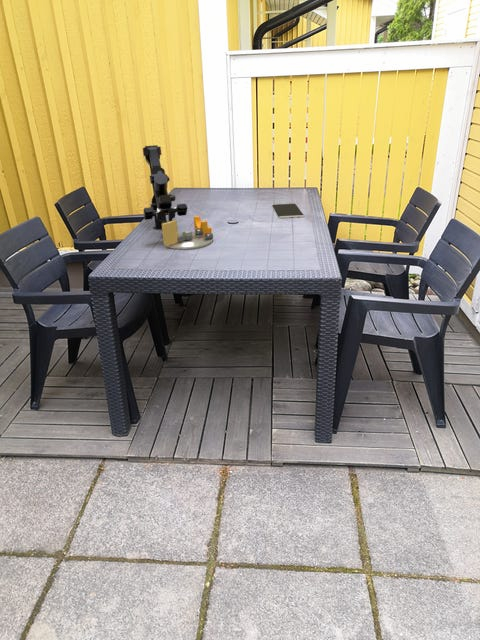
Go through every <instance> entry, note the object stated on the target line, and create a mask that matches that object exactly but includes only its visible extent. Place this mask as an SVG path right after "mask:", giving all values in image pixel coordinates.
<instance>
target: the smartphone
mask: <svg viewBox="0 0 480 640" xmlns="http://www.w3.org/2000/svg"><path fill="white" fill-rule="evenodd" d="M271 207H272V209H273V210H274V212H276V213H275V214H276V216H277V218H278V219H279V220H280V219H281V220H282V219H284V220H285V219H298V218H300V219H302V218H305V215H304V214H303V212H302V210H301V209H300V207H298V205H297V204H296V203H277V204H274V203H273V204H272V206H271Z"/></svg>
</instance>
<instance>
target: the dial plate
mask: <svg viewBox="0 0 480 640" xmlns="http://www.w3.org/2000/svg"><path fill="white" fill-rule="evenodd" d="M191 232H192V235H193V239H191V240H184V241H181V242H177V243H174V244H171V245H168V246H164V247H165V248H167V249H170V250H177V251H189V250H197V249H202V248H205V247H207V246H209V245H211V244H213V241H214V235H213V233H212V232H211V233H206V234H205V233H203V229H201V228H198V229H195V228H194V232H193V231H191ZM182 233H183V232H181V233H178V236H181V235H183V234H182ZM162 242H163V245H164V241H162Z"/></svg>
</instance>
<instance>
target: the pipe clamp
mask: <svg viewBox="0 0 480 640" xmlns="http://www.w3.org/2000/svg"><path fill="white" fill-rule="evenodd" d="M193 224H194V226H193V227H194V230H195V229H198V228H201V229H203V233H205V234H206V233H212V227H211V226H209V225H208V221H207V220H202V221H201V216H199V215H195V216H193Z"/></svg>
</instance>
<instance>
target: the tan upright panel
mask: <svg viewBox="0 0 480 640" xmlns="http://www.w3.org/2000/svg"><path fill="white" fill-rule="evenodd" d="M161 231H162V237H163V238H162V239H163V241H164V244H163V246H164V247H165V246H168V245H171V244H174V243H177V242H181V241H184V240H191V239H193V235H192V232H193V231H190V230H185V231H184V232H181V233H182V234H183V235H181V236H178V234H179V231H178V221H177V220H172V221H170V222H169V221H167V223H163V224H162V229H161ZM163 241H162V242H163Z"/></svg>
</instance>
